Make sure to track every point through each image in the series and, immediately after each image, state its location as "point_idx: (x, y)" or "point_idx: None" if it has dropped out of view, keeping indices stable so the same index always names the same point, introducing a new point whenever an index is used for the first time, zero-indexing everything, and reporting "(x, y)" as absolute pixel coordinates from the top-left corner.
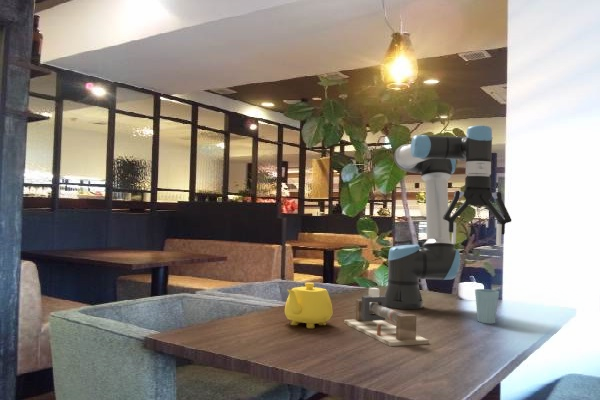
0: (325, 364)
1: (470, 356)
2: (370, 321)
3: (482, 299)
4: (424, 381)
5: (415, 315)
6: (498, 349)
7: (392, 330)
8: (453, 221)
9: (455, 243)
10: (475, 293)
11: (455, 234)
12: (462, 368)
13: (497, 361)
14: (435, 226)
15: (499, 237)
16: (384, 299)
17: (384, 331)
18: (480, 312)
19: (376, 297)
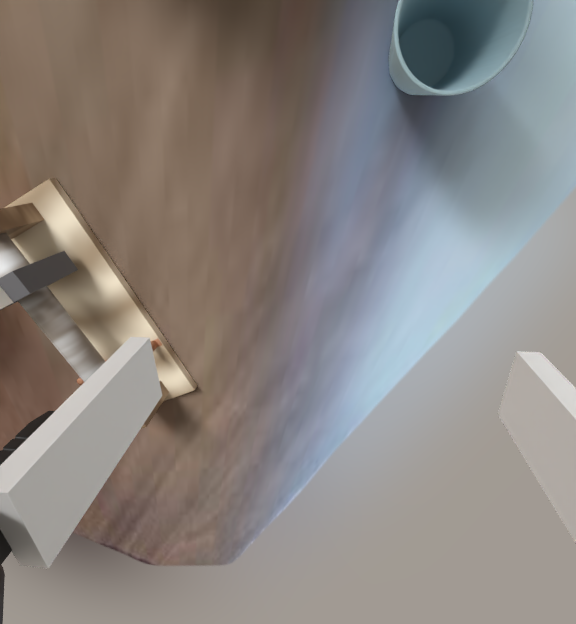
0: None
1: (263, 449)
2: (41, 229)
3: (409, 85)
4: (188, 538)
5: (144, 425)
6: (330, 404)
7: (114, 323)
8: (3, 575)
9: (160, 395)
10: (393, 27)
11: (122, 450)
12: (240, 499)
13: (302, 468)
14: None
15: (537, 470)
16: (32, 292)
17: (99, 336)
18: (396, 77)
19: (7, 305)
